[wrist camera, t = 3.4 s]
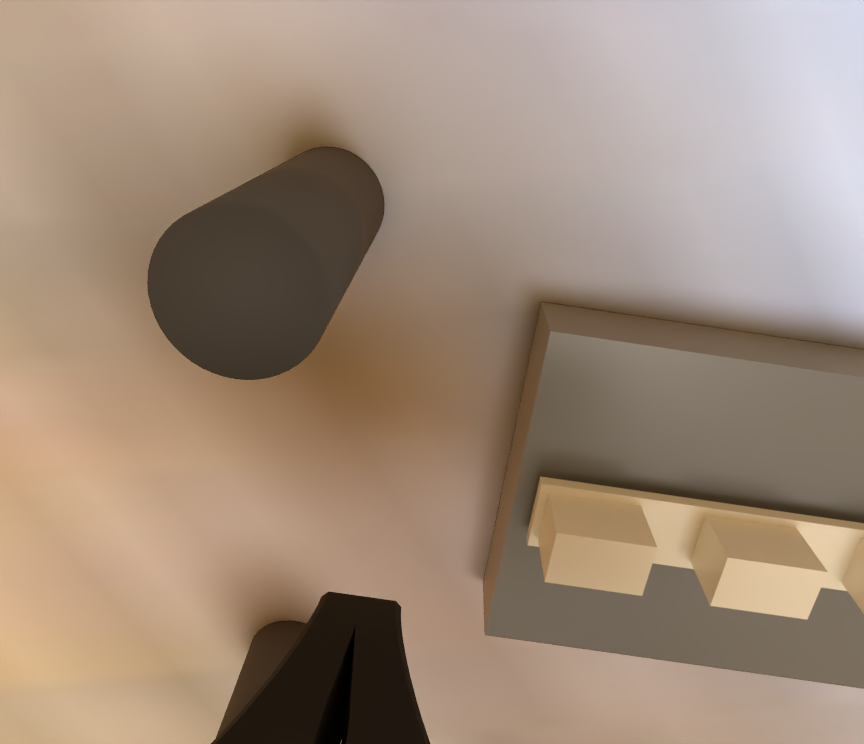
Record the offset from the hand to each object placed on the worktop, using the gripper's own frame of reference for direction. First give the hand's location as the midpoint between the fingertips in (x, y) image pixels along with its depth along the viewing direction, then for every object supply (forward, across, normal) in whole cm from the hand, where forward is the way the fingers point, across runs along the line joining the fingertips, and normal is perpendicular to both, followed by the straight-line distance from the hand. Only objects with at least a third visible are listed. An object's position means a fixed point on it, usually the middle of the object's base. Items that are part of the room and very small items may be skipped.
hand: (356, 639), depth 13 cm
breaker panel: (+6, -8, -1) cm, 10 cm away
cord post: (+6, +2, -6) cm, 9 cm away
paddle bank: (+4, -8, -1) cm, 9 cm away
